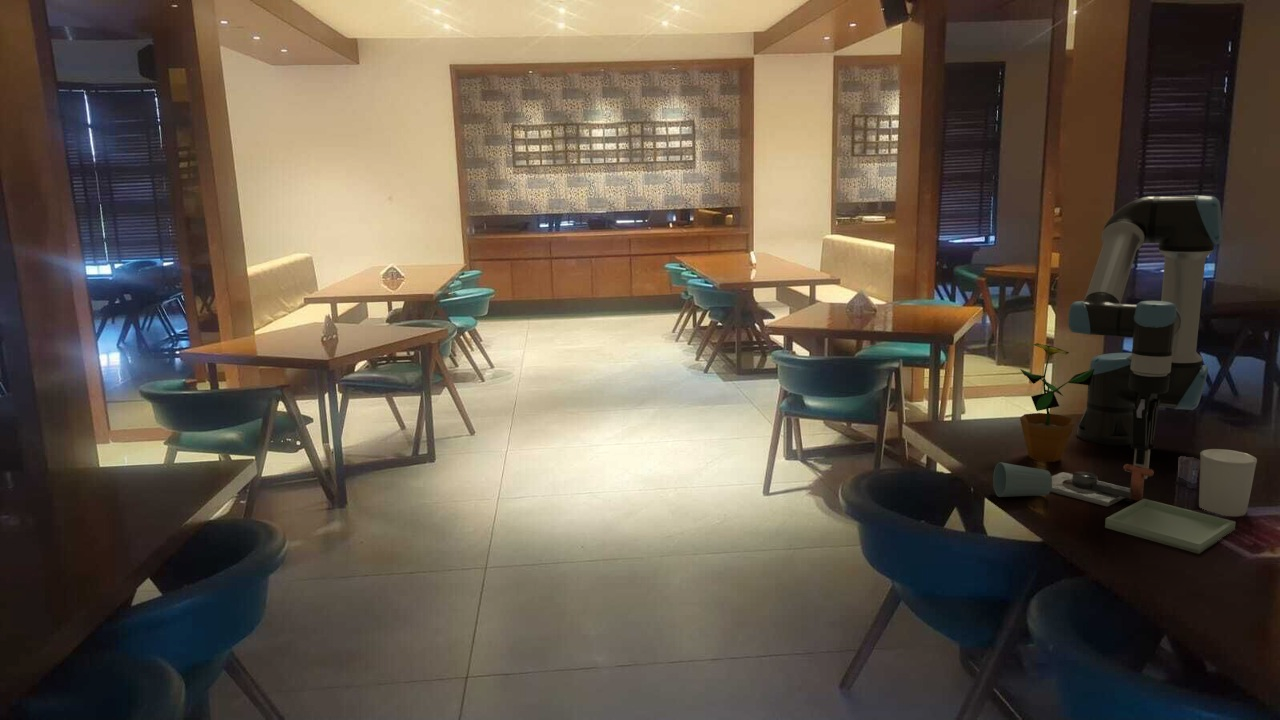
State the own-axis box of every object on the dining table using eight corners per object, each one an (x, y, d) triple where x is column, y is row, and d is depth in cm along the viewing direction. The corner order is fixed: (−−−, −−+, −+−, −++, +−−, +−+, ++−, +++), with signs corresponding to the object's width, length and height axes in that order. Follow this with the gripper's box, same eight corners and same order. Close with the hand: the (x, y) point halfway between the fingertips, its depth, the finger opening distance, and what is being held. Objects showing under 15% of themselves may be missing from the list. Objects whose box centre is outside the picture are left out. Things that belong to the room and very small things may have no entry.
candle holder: (1252, 522, 174) (1258, 465, 172) (1194, 513, 179) (1200, 459, 177) (1249, 506, 182) (1255, 452, 180) (1194, 499, 187) (1200, 446, 185)
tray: (1143, 508, 183) (1144, 498, 182) (1234, 532, 170) (1235, 521, 169) (1104, 528, 173) (1105, 518, 172) (1198, 555, 160) (1199, 544, 159)
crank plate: (1062, 476, 204) (1062, 471, 203) (1133, 494, 191) (1134, 488, 191) (1035, 488, 196) (1036, 482, 196) (1107, 507, 184) (1108, 501, 184)
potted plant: (1068, 474, 205) (1077, 351, 199) (992, 457, 219) (999, 341, 213) (1098, 457, 217) (1108, 340, 211) (1025, 442, 230) (1032, 332, 225)
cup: (1054, 501, 186) (1005, 497, 186) (1039, 499, 194) (992, 496, 194) (1054, 465, 187) (1006, 462, 187) (1039, 465, 194) (993, 462, 195)
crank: (1067, 485, 194) (1070, 454, 193) (1078, 480, 197) (1081, 450, 195) (1145, 505, 181) (1148, 472, 180) (1156, 499, 184) (1159, 467, 182)
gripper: (1138, 366, 193) (1129, 466, 197) (1122, 375, 183) (1112, 481, 188) (1176, 370, 188) (1166, 473, 192) (1162, 380, 178) (1151, 488, 183)
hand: (1140, 476), depth 190 cm, fingers closed
